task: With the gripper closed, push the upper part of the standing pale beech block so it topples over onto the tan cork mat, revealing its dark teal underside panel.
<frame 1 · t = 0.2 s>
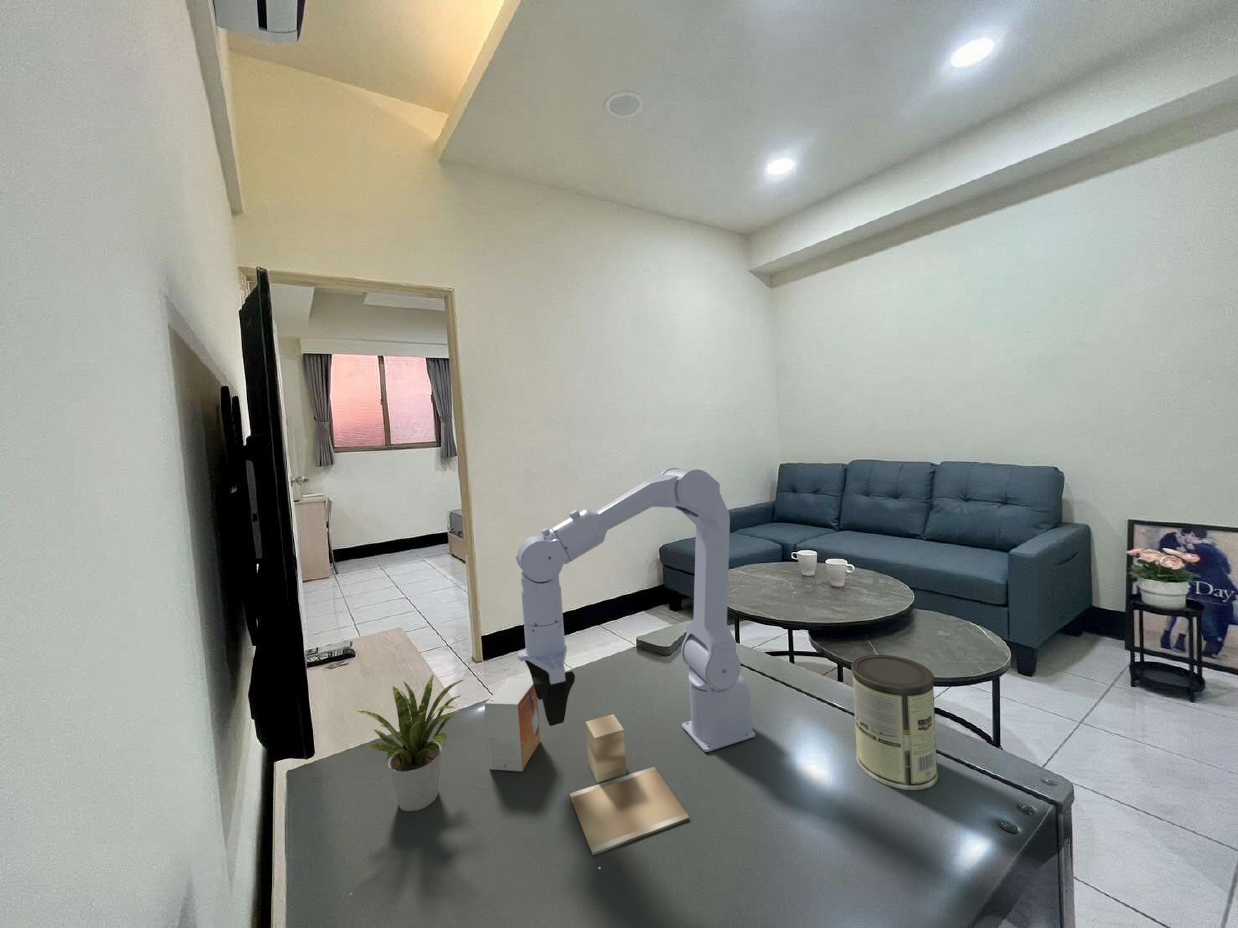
hand: (550, 709, 72), 10 cm above the table, fingers open, 7 cm apart
small box: (516, 756, 78), on the table
coffee can: (895, 766, 70), on the table
beech block: (607, 771, 72), on the table
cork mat: (626, 807, 65), on the table
house plant: (428, 797, 69), on the table
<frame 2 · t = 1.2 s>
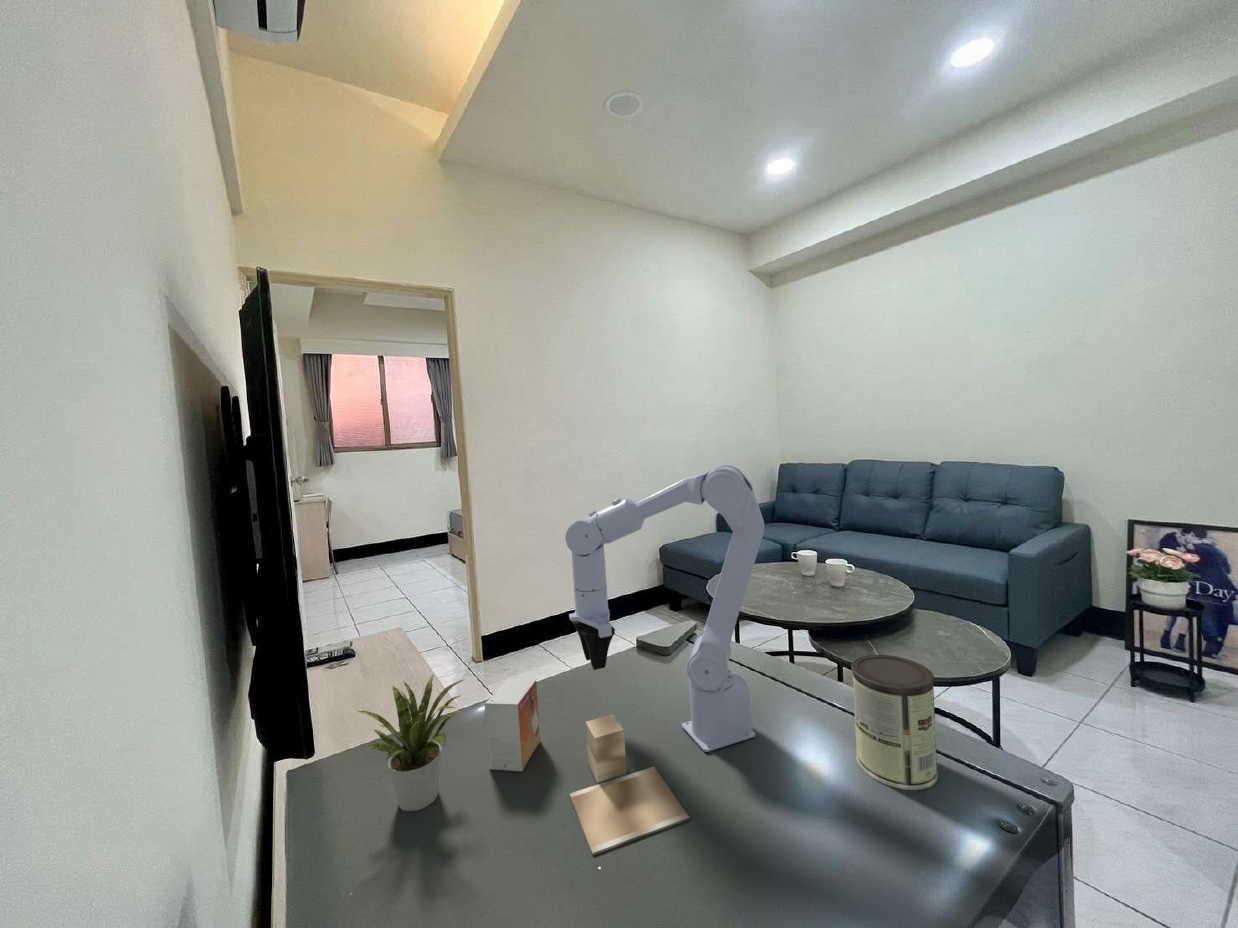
hand: (595, 663, 85), 10 cm above the table, fingers open, 3 cm apart
nothing on the table moved.
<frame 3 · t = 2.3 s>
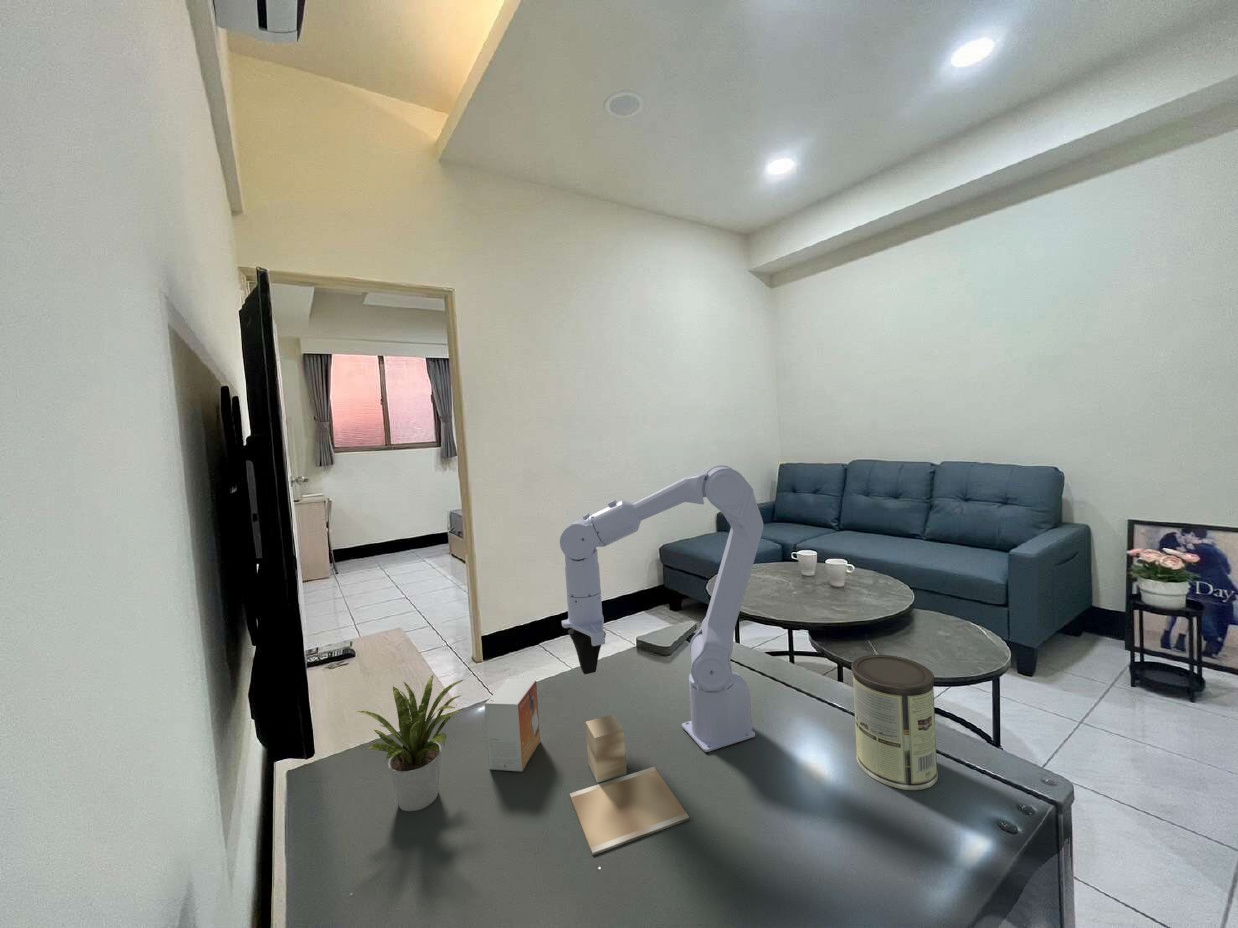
hand: (588, 671, 82), 10 cm above the table, fingers closed
nothing on the table moved.
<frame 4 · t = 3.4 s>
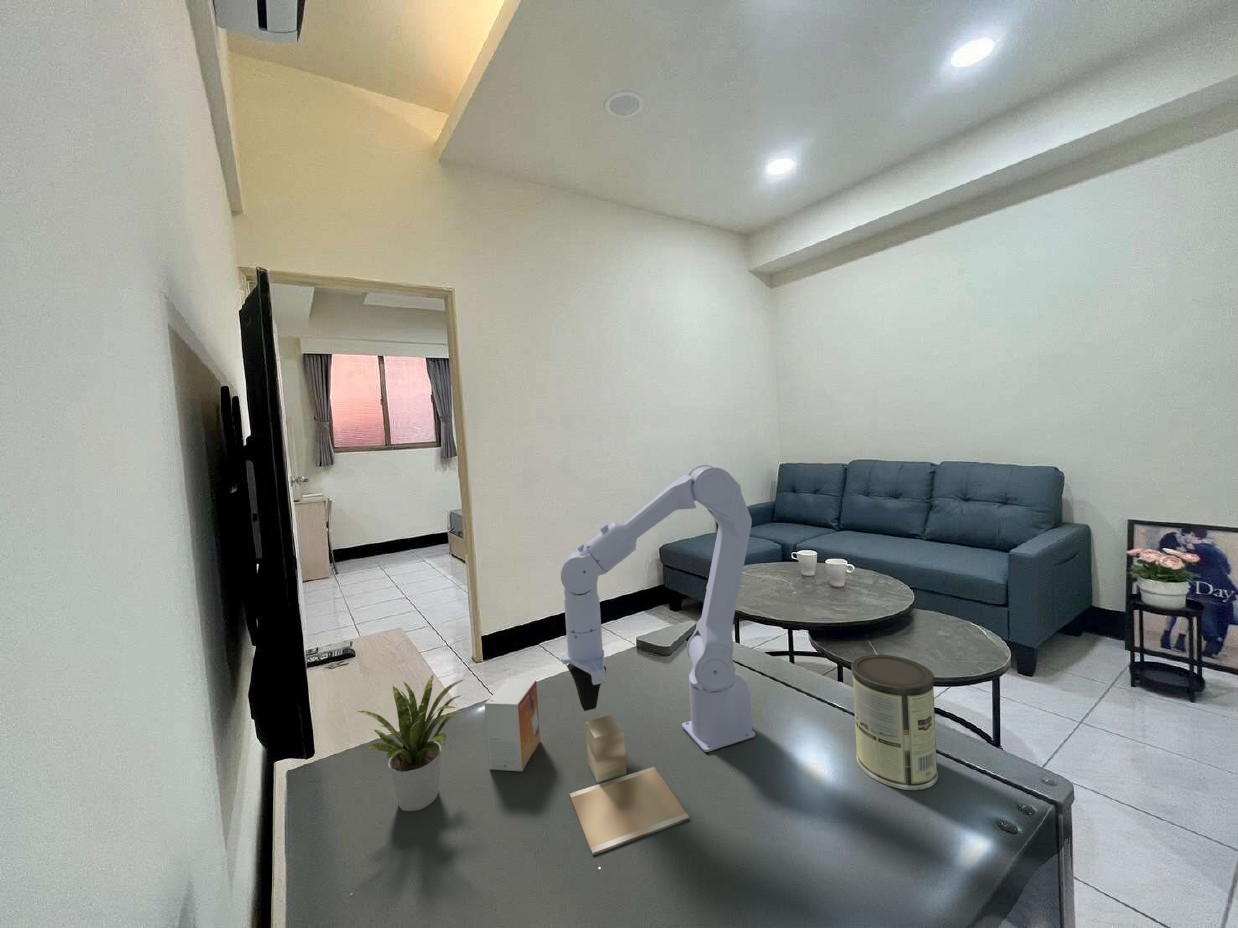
hand: (589, 707, 80), 6 cm above the table, fingers closed
nothing on the table moved.
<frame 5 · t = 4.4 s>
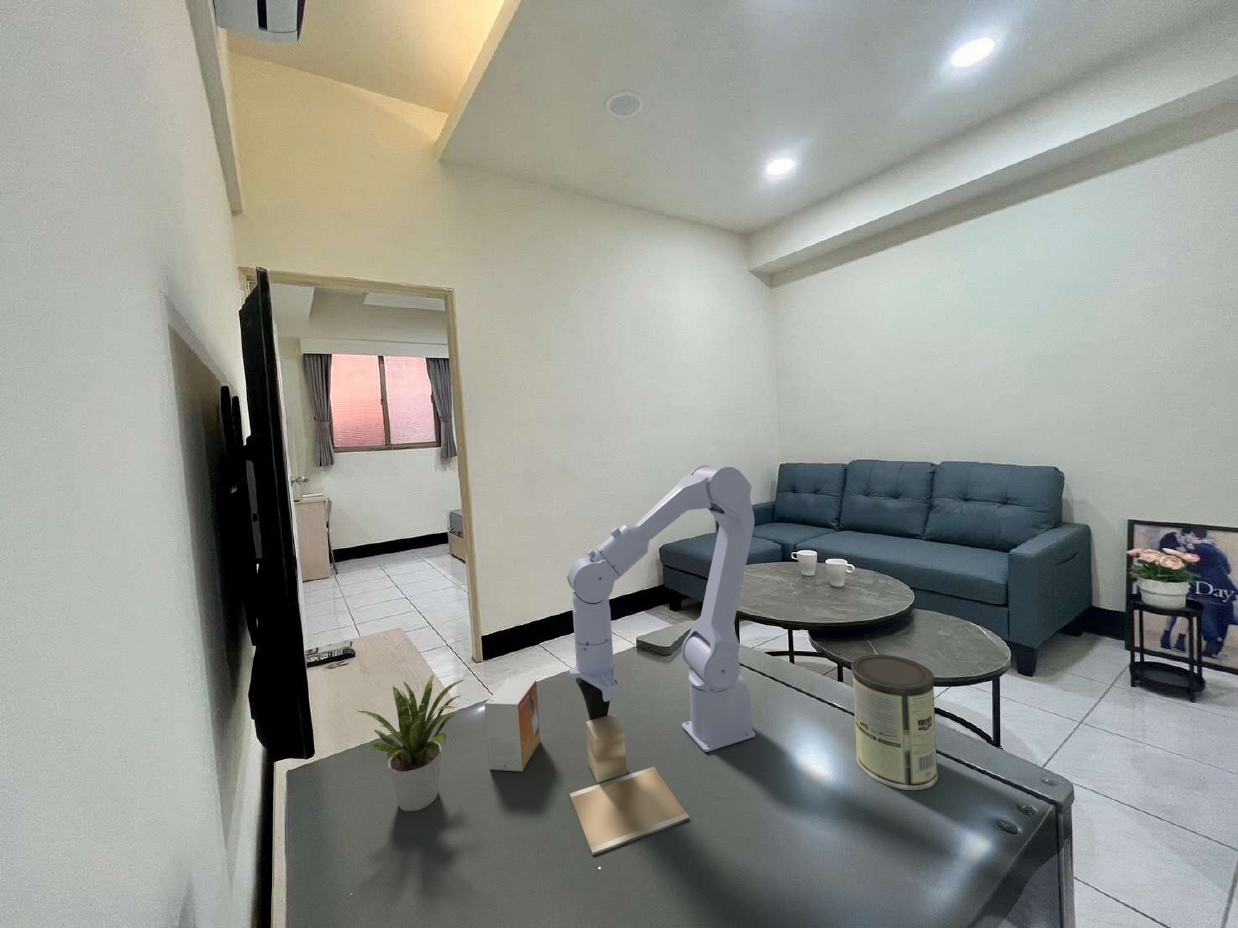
hand: (598, 724, 75), 6 cm above the table, fingers closed
beech block: (607, 770, 72), on the table, touching gripper
everything else where it was.
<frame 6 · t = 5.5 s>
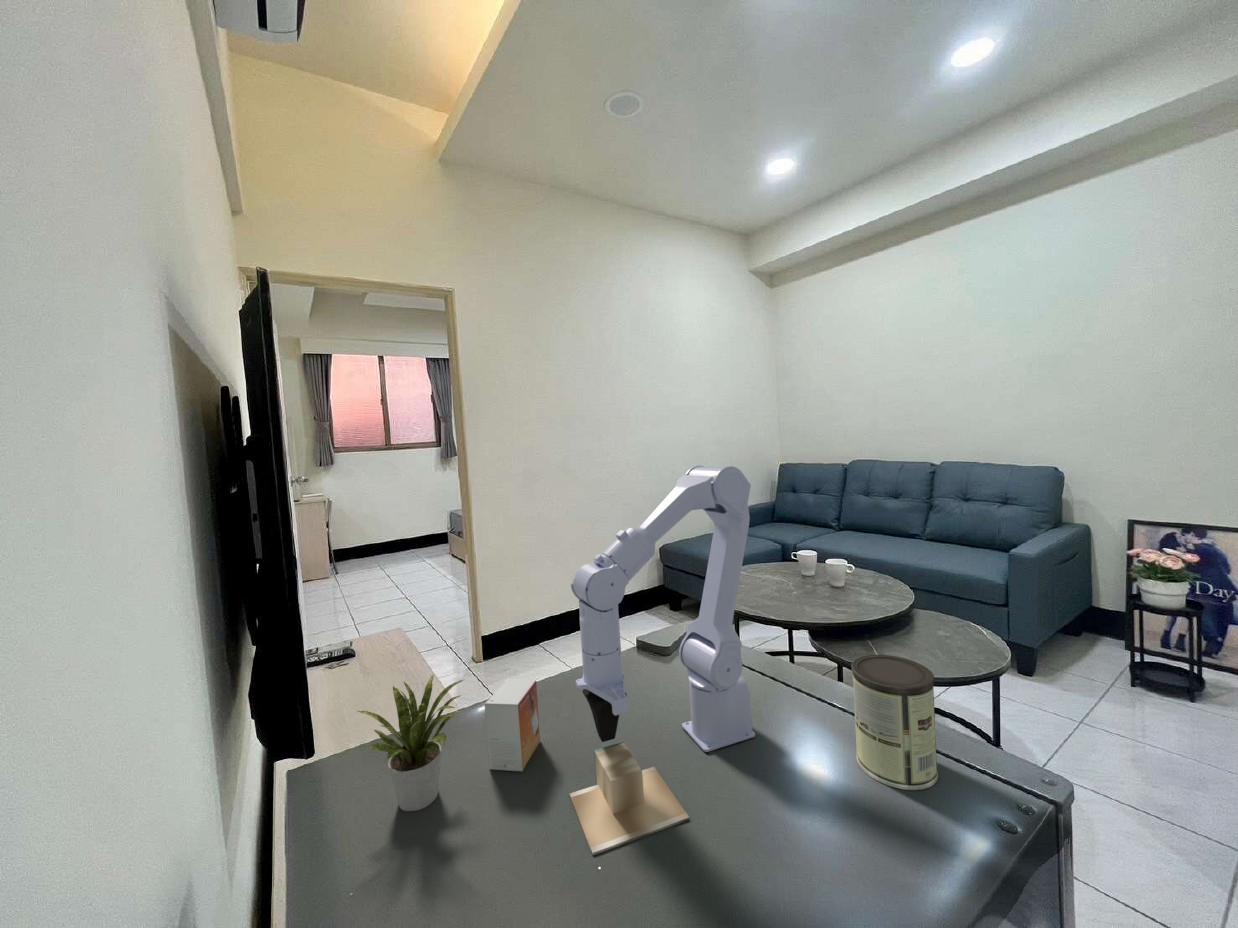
hand: (607, 737, 71), 6 cm above the table, fingers closed
beech block: (609, 760, 71), point 3 cm above the table, tilted 90°, touching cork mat
everything else where it was.
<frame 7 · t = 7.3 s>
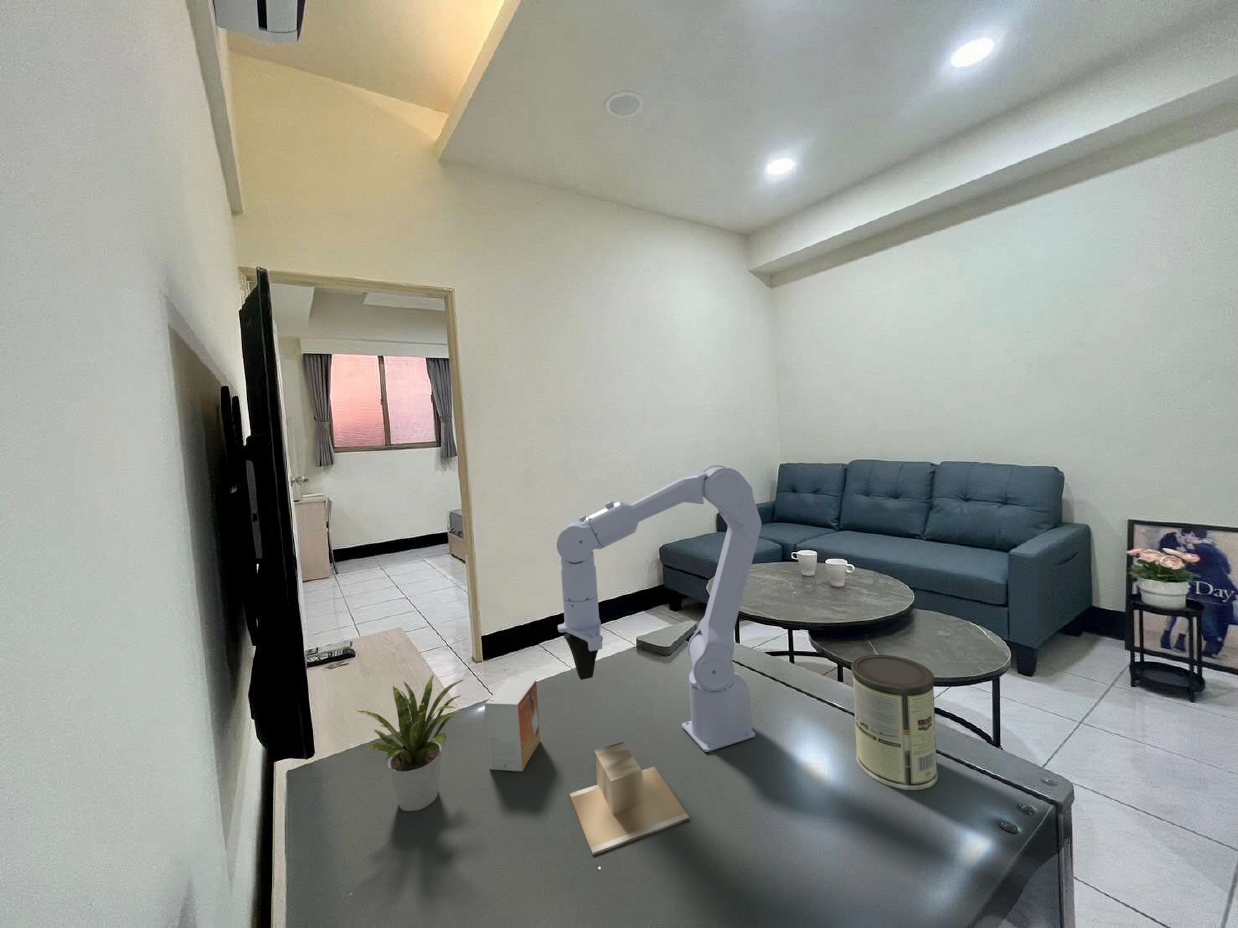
hand: (585, 676, 80), 10 cm above the table, fingers closed
nothing on the table moved.
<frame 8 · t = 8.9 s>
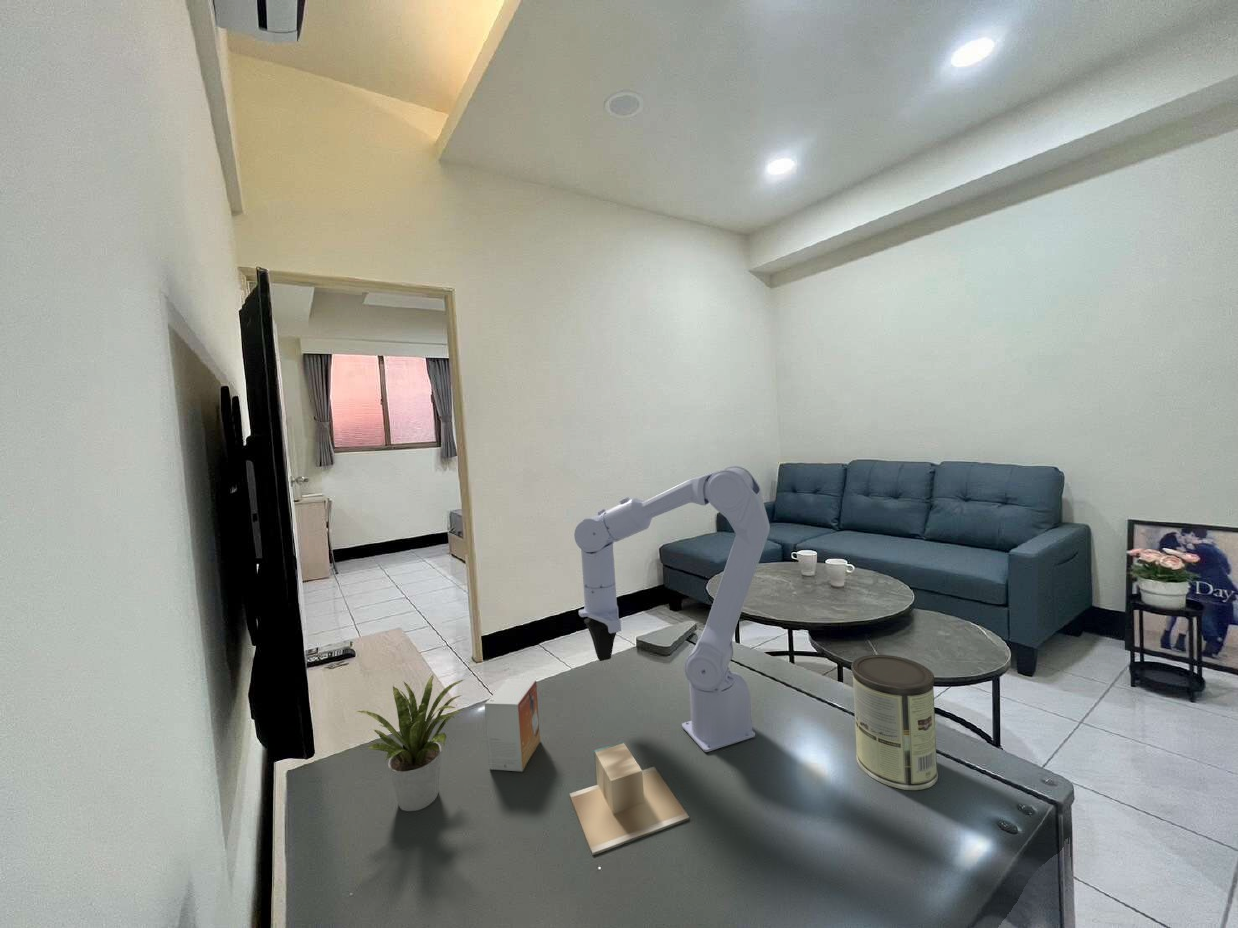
hand: (604, 658, 87), 10 cm above the table, fingers closed
nothing on the table moved.
at the end: beech block tilted 90°; beech block inside the target area (5.3 cm from its centre), point 2.6 cm above the table; the gripper is holding nothing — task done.
